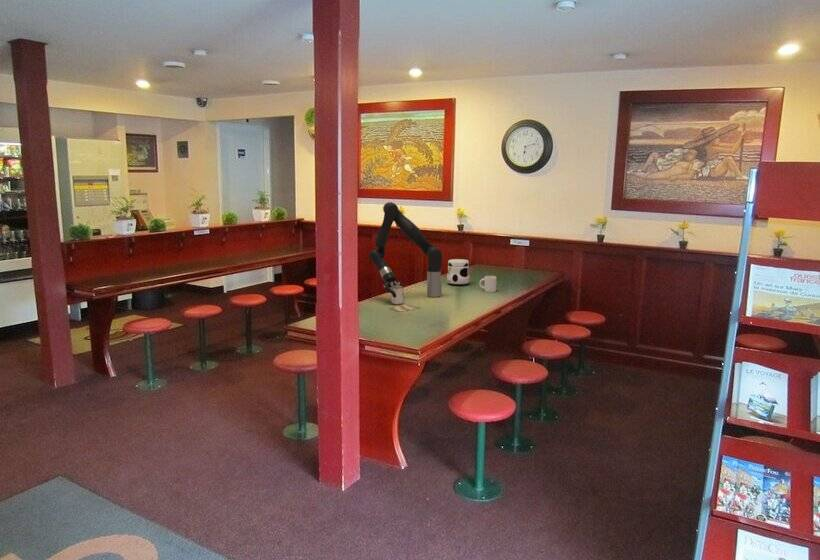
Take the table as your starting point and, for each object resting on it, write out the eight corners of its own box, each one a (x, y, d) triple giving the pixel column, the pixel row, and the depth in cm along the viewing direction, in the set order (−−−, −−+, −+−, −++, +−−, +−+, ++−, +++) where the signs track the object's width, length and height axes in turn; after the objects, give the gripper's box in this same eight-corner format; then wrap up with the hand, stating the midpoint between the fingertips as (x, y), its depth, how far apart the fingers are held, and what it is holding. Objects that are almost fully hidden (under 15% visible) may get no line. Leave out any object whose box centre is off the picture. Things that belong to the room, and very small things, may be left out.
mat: (407, 304, 367) (407, 304, 367) (419, 308, 358) (419, 307, 358) (387, 308, 357) (387, 308, 357) (399, 312, 348) (399, 311, 348)
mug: (477, 291, 406) (478, 277, 404) (480, 289, 414) (480, 275, 412) (494, 292, 402) (495, 278, 400) (497, 290, 410) (497, 276, 408)
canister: (398, 301, 373) (397, 285, 371) (403, 303, 368) (403, 286, 366) (391, 302, 369) (391, 286, 367) (396, 304, 365) (396, 287, 363)
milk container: (442, 283, 436) (442, 259, 433) (462, 281, 443) (462, 258, 440) (453, 287, 421) (454, 263, 417) (474, 285, 428) (474, 261, 425)
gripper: (380, 272, 366) (392, 294, 360) (398, 270, 375) (410, 291, 368) (376, 279, 372) (387, 301, 365) (393, 277, 380) (405, 298, 373)
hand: (398, 296), depth 367 cm, fingers closed on canister, 5 cm apart
